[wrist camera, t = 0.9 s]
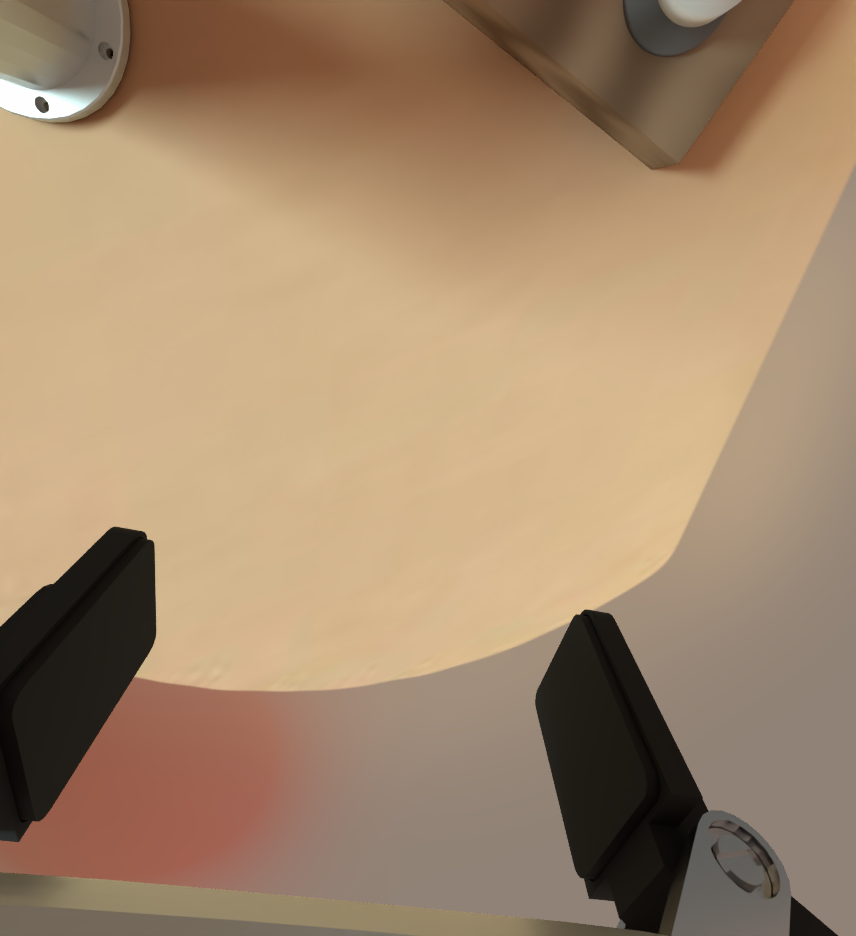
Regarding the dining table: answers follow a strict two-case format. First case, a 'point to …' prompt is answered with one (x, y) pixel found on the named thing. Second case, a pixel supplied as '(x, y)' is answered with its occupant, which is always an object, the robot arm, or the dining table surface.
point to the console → (631, 62)
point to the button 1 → (695, 10)
